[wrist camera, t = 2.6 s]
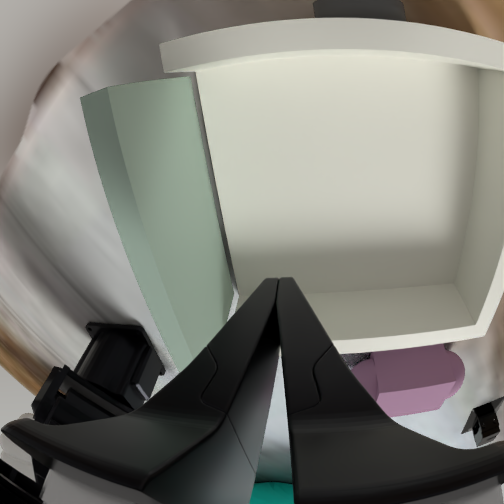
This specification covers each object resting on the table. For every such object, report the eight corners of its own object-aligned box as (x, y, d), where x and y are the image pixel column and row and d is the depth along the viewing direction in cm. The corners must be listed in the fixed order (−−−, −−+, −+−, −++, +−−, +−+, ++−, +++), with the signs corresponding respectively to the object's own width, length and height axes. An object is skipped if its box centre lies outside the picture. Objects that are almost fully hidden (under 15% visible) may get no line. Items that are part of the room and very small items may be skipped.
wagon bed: (246, 313, 22) (235, 368, 18) (194, 28, 12) (154, 14, 8) (454, 300, 19) (477, 349, 15) (481, 30, 10) (535, 28, 5)
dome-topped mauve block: (341, 380, 25) (344, 421, 22) (345, 349, 23) (349, 395, 20) (448, 367, 24) (459, 404, 20) (462, 336, 21) (478, 376, 18)
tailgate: (219, 294, 20) (189, 391, 14) (171, 80, 13) (79, 97, 7) (234, 293, 20) (208, 392, 14) (190, 76, 13) (107, 87, 7)
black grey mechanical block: (490, 421, 32) (496, 445, 28) (452, 436, 34) (456, 460, 30) (512, 384, 26) (522, 412, 22) (467, 403, 28) (475, 433, 24)
